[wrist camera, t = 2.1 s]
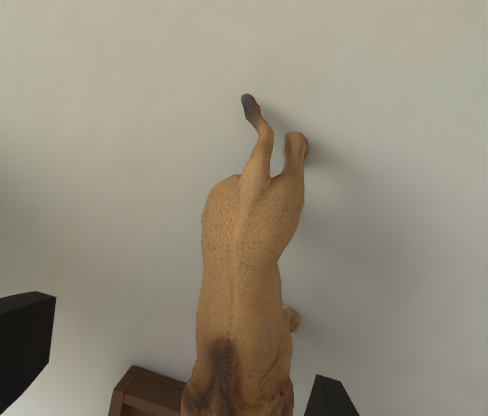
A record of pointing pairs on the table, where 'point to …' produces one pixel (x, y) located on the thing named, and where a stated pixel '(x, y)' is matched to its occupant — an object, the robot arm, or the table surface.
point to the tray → (146, 395)
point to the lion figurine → (247, 285)
